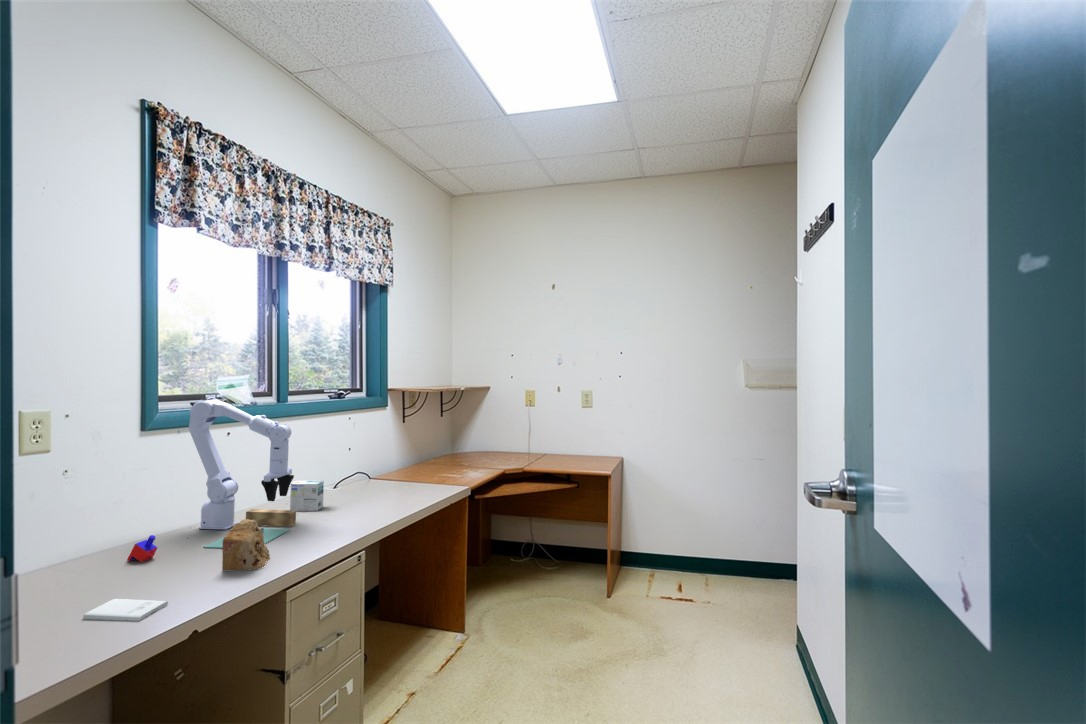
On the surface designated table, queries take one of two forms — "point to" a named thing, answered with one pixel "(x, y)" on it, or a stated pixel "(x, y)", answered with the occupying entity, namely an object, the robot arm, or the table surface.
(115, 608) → the external hard drive
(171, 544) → the table surface
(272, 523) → the bronze bar
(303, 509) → the light bulb box
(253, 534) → the stone fragment
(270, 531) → the board
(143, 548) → the red blue dreidel
